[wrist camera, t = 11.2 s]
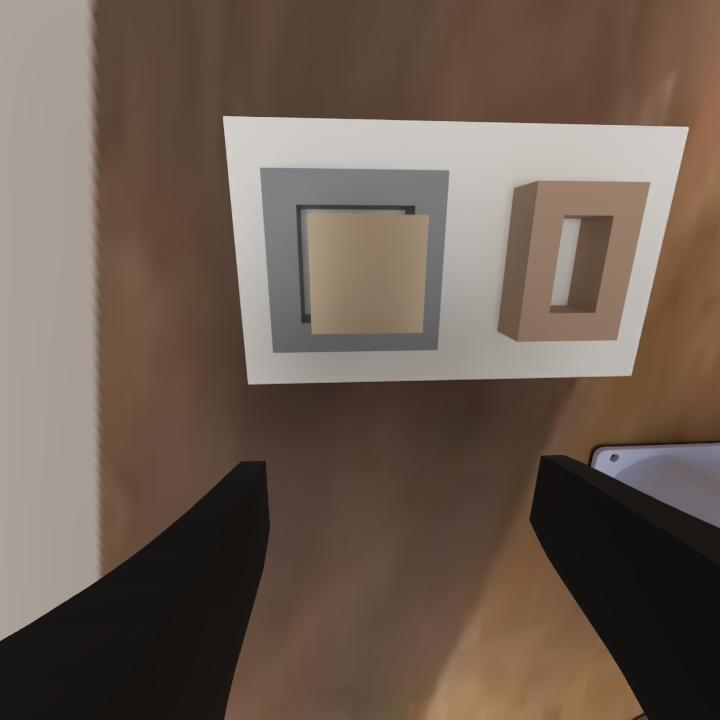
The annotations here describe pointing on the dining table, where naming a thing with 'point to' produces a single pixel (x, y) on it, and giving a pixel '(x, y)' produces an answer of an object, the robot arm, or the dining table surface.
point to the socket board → (456, 242)
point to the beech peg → (367, 273)
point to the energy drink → (643, 718)
